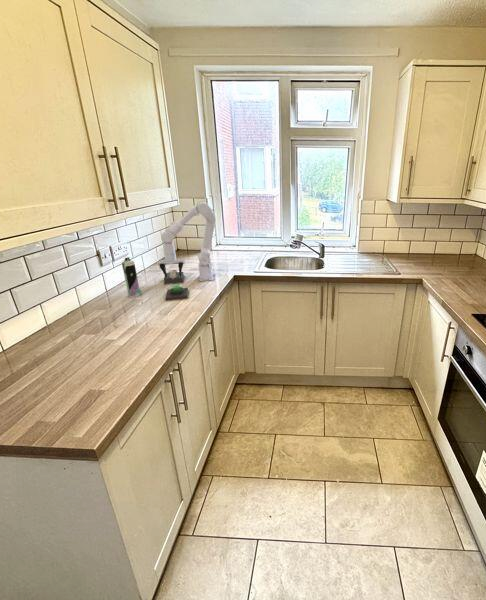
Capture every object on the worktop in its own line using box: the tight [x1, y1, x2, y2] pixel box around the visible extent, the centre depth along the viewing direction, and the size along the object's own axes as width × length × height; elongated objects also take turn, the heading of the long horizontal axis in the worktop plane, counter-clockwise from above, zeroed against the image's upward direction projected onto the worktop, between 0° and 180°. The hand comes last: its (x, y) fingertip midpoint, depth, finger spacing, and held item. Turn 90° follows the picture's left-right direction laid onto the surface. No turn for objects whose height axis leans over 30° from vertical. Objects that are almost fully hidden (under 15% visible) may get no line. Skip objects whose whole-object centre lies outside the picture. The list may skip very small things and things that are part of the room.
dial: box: [167, 269, 178, 278], centre depth 180 cm, size 4×4×4 cm
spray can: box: [121, 256, 142, 298], centre depth 158 cm, size 6×6×20 cm
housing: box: [165, 286, 189, 301], centre depth 162 cm, size 12×10×4 cm
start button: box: [171, 285, 181, 291], centre depth 161 cm, size 4×4×2 cm
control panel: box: [163, 271, 185, 285], centre depth 184 cm, size 13×10×3 cm
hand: (173, 276), depth 181 cm, fingers open, 7 cm apart
